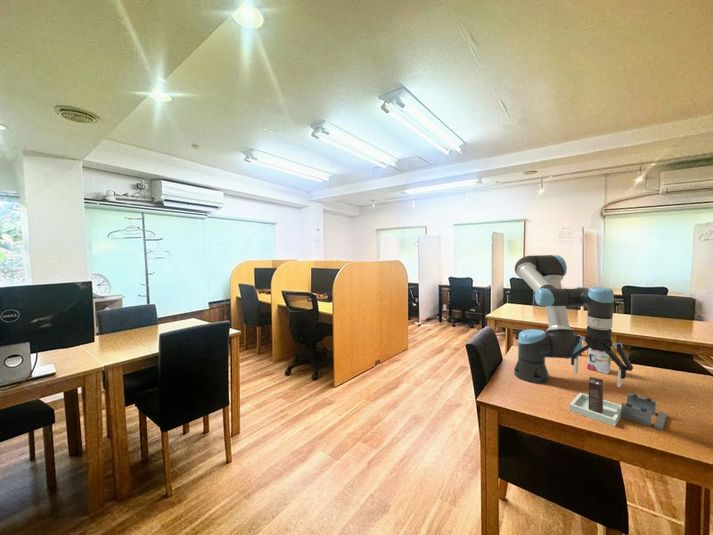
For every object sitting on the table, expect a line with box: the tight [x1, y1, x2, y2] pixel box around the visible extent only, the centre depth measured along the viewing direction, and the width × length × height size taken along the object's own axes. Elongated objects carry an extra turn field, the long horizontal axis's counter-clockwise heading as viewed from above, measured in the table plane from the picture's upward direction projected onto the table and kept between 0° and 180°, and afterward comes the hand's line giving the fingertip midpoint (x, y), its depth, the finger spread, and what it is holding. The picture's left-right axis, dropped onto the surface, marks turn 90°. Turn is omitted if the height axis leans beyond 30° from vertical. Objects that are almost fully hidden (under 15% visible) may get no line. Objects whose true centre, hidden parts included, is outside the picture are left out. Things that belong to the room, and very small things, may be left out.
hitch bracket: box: [620, 392, 668, 431], centre depth 110 cm, size 11×13×6 cm
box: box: [587, 376, 604, 414], centre depth 114 cm, size 6×4×12 cm
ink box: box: [587, 348, 612, 374], centre depth 150 cm, size 9×5×12 cm, turn 37°
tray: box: [568, 392, 622, 427], centre depth 115 cm, size 14×14×3 cm
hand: (596, 379), depth 114 cm, fingers open, 13 cm apart
